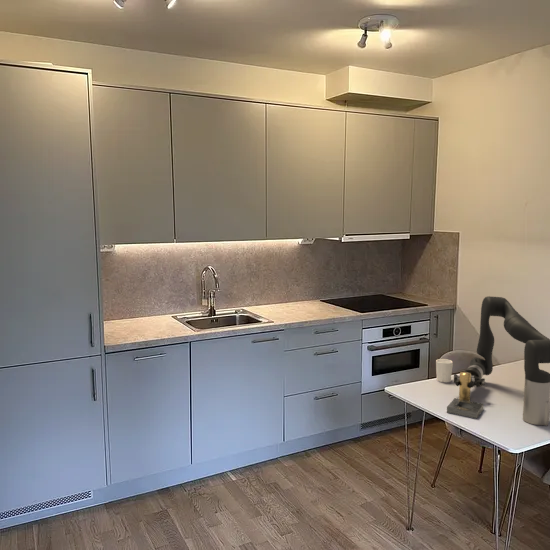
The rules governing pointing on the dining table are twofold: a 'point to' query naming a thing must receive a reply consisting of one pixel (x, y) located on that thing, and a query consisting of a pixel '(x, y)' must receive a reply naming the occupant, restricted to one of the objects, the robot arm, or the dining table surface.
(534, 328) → the robot arm
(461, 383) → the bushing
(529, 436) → the dining table surface
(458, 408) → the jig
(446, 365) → the white cup
